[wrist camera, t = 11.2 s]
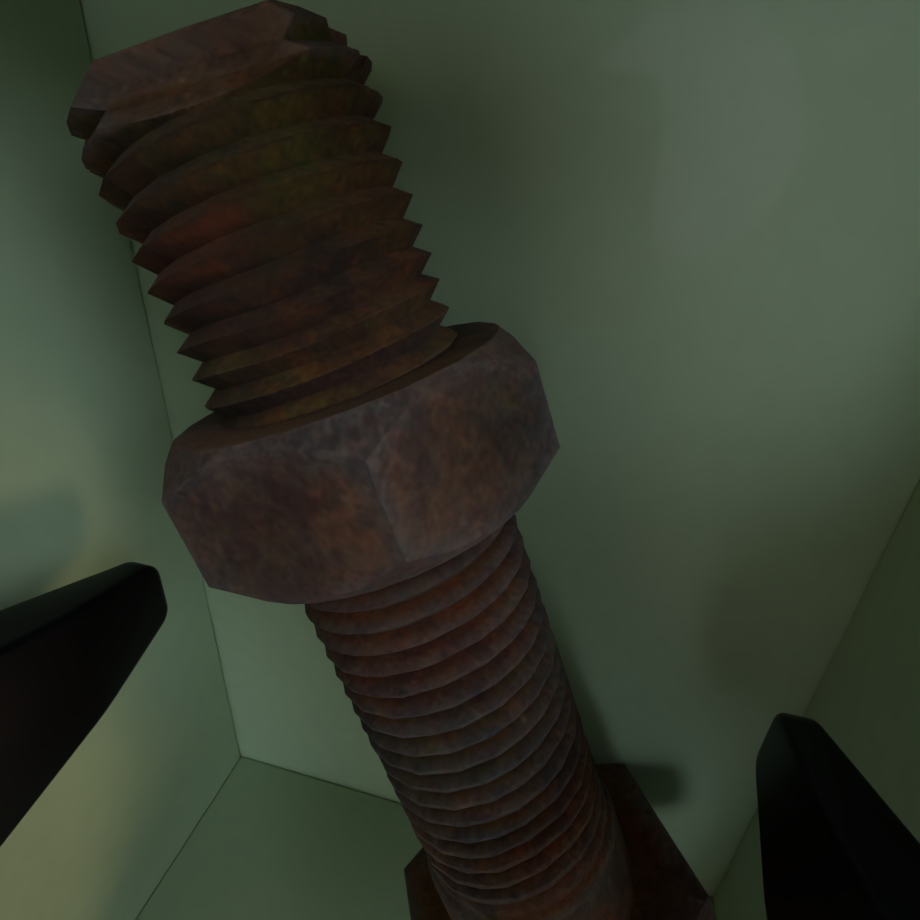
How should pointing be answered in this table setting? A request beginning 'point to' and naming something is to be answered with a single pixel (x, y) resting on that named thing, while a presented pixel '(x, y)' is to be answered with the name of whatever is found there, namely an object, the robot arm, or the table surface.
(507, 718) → the bolt
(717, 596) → the carton
